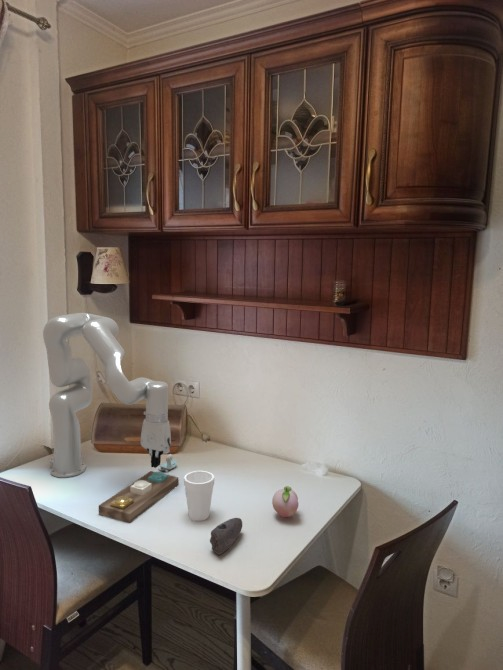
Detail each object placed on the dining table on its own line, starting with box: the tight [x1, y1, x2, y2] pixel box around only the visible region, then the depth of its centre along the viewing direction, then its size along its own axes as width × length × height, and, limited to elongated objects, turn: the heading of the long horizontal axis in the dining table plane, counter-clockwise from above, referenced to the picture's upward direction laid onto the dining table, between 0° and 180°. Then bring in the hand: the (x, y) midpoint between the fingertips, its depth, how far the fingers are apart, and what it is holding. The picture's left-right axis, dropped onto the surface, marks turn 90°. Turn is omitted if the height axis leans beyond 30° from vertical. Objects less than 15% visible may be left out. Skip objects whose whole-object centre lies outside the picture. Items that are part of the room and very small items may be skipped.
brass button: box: [111, 496, 133, 510], centre depth 152 cm, size 5×5×4 cm
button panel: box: [98, 470, 180, 524], centre depth 161 cm, size 12×28×3 cm, turn 157°
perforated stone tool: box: [209, 517, 243, 556], centre depth 136 cm, size 15×5×7 cm, turn 148°
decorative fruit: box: [271, 485, 299, 518], centre depth 151 cm, size 9×8×10 cm
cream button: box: [130, 480, 152, 496], centre depth 161 cm, size 5×5×4 cm
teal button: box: [148, 471, 169, 483], centre depth 170 cm, size 5×5×4 cm
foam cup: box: [183, 470, 215, 522], centre depth 151 cm, size 10×9×13 cm
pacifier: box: [157, 453, 178, 471], centre depth 185 cm, size 7×6×6 cm
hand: (155, 465), depth 170 cm, fingers closed
